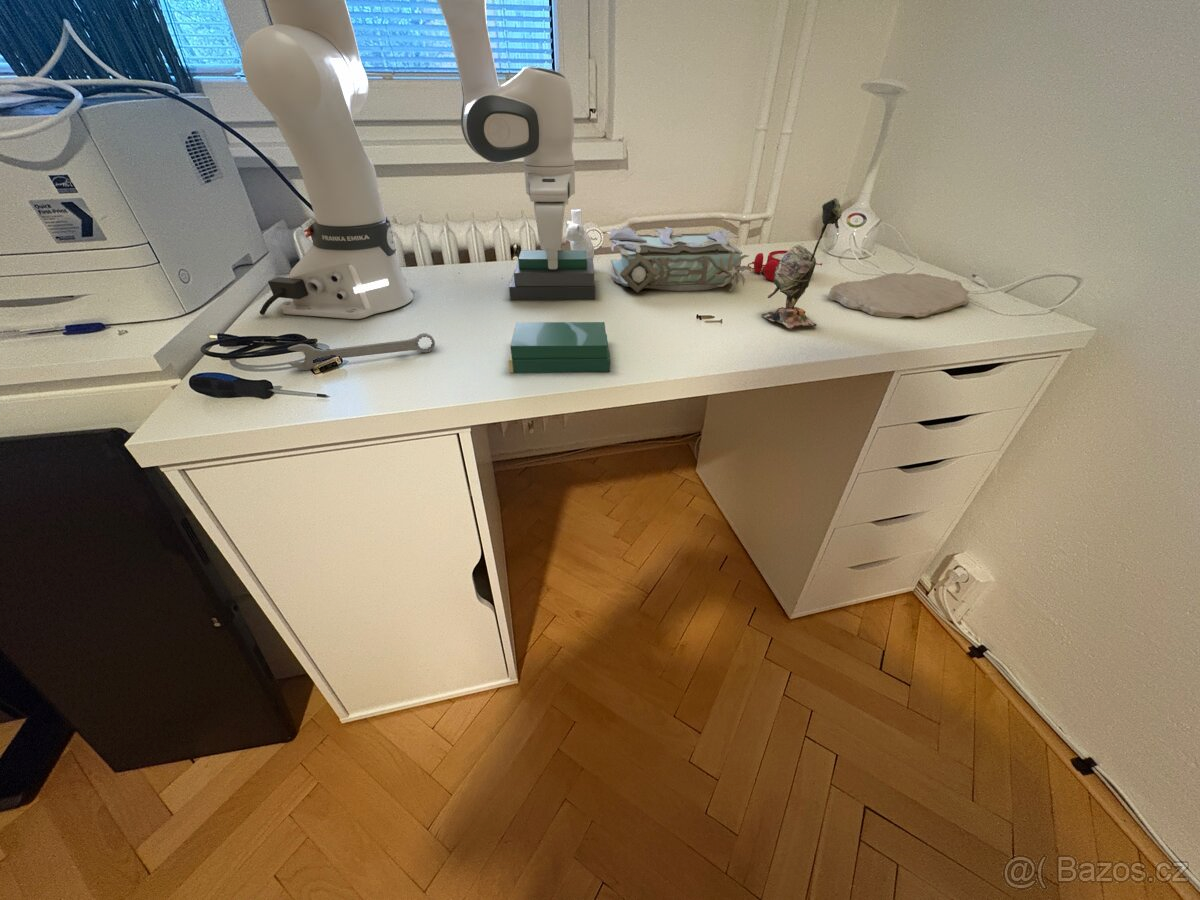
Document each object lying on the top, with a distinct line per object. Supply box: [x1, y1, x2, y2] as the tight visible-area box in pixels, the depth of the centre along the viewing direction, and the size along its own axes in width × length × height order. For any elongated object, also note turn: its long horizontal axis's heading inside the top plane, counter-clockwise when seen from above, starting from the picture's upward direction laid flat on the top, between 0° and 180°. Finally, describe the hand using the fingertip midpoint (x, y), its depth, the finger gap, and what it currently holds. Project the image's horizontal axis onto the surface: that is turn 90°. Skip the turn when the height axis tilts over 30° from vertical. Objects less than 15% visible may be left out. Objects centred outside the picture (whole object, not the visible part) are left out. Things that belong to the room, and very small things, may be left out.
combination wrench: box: [287, 332, 436, 371], centre depth 71 cm, size 4×1×20 cm
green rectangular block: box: [508, 321, 611, 374], centre depth 72 cm, size 14×9×4 cm, turn 93°
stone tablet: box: [828, 272, 970, 319], centre depth 95 cm, size 16×30×2 cm, turn 115°
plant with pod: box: [761, 197, 843, 329], centre depth 81 cm, size 8×11×20 cm
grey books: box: [508, 257, 596, 301], centre depth 96 cm, size 16×11×5 cm
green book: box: [517, 249, 587, 270], centre depth 94 cm, size 13×6×2 cm, turn 93°
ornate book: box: [606, 225, 753, 294], centre depth 103 cm, size 23×10×30 cm
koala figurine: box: [564, 208, 595, 259], centre depth 106 cm, size 8×7×12 cm
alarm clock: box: [747, 249, 823, 282], centre depth 106 cm, size 10×6×15 cm
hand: (553, 262), depth 94 cm, fingers closed on green book, 6 cm apart
